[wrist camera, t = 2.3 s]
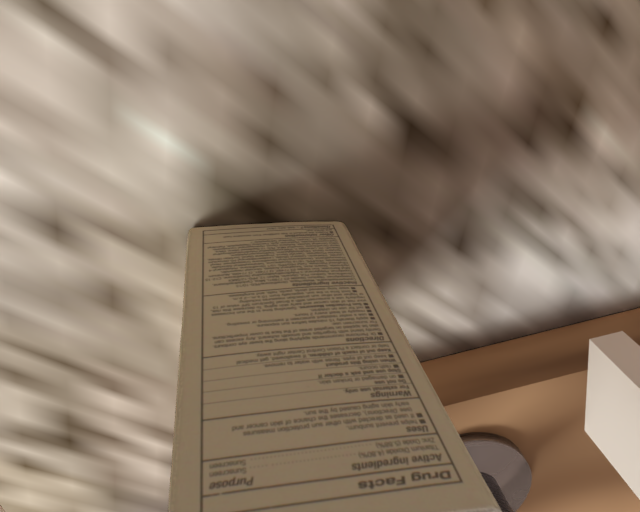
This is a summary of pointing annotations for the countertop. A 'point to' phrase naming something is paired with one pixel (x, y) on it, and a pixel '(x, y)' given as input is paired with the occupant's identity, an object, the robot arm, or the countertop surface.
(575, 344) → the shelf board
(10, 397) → the countertop surface
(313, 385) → the box
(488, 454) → the door lever handle
